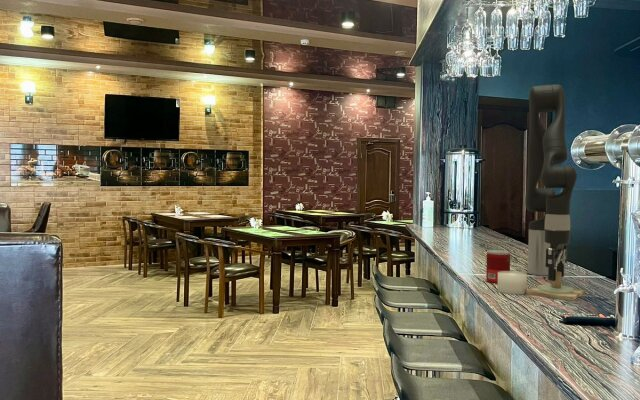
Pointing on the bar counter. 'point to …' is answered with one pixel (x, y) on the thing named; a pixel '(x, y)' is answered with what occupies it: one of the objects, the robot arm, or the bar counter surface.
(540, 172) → the robot arm
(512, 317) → the bar counter surface
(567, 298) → the mat
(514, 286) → the crock
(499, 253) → the canned food
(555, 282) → the lid
